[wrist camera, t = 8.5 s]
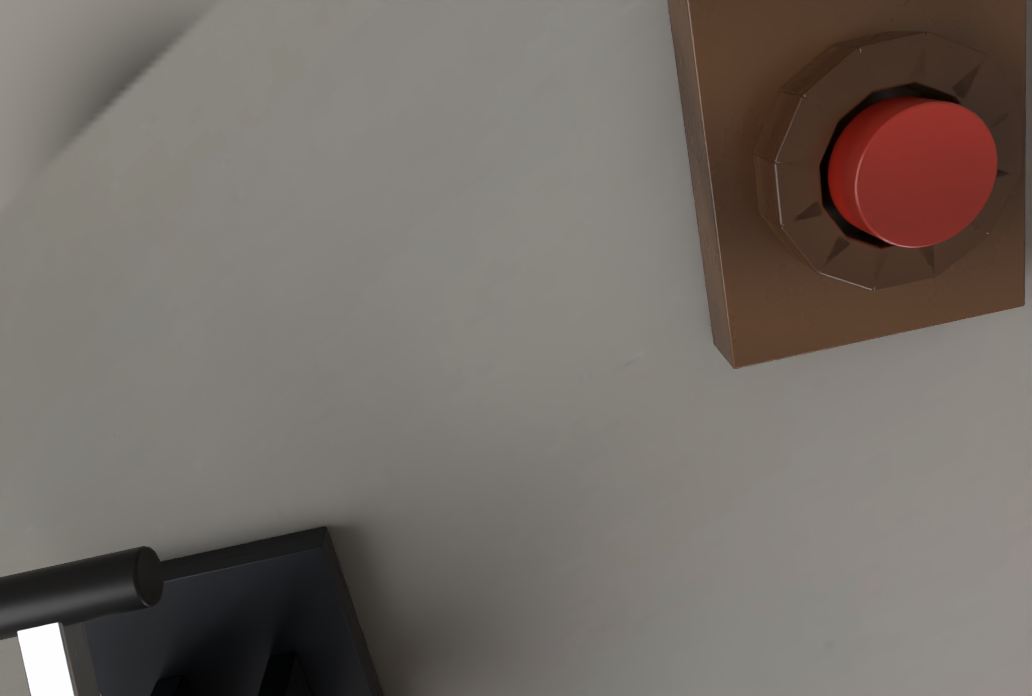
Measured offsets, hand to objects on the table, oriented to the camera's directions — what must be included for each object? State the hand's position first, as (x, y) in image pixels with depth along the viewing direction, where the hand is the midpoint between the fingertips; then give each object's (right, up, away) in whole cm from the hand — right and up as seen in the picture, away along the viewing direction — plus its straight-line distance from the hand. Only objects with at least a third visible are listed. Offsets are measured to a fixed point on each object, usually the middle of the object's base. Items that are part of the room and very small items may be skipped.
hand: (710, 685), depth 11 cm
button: (+8, +9, +12) cm, 17 cm away
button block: (+7, +10, +16) cm, 20 cm away
